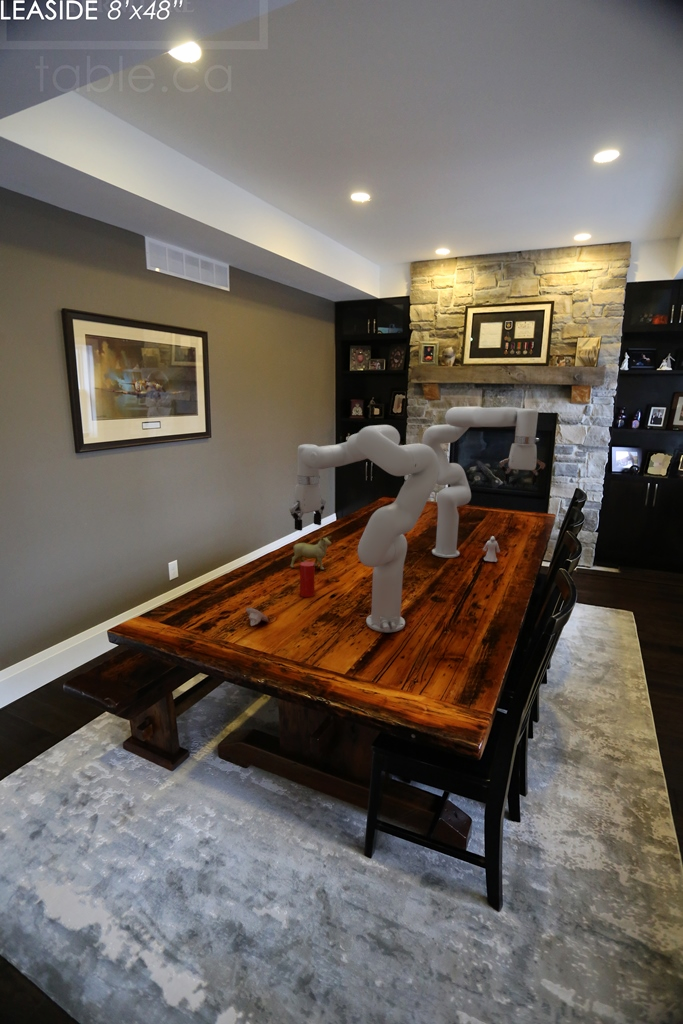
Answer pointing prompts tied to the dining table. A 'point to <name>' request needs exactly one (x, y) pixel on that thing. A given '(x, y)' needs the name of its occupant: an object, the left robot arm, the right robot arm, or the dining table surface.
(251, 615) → the seashell
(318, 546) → the toy
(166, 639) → the dining table surface
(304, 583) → the tin
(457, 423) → the right robot arm
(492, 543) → the figurine
